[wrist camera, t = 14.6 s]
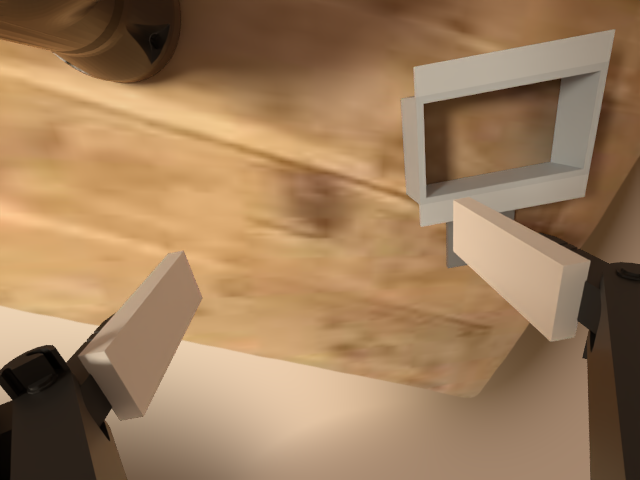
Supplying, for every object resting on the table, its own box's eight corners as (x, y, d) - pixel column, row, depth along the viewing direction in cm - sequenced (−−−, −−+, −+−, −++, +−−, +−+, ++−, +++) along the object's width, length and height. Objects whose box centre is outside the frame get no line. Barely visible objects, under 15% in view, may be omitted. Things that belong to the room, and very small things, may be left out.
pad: (446, 207, 45) (448, 208, 45) (513, 195, 45) (516, 196, 45) (446, 266, 49) (448, 268, 49) (508, 255, 49) (510, 256, 49)
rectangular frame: (399, 72, 38) (414, 66, 33) (572, 39, 38) (615, 29, 33) (407, 213, 45) (421, 226, 40) (552, 186, 45) (584, 196, 40)
